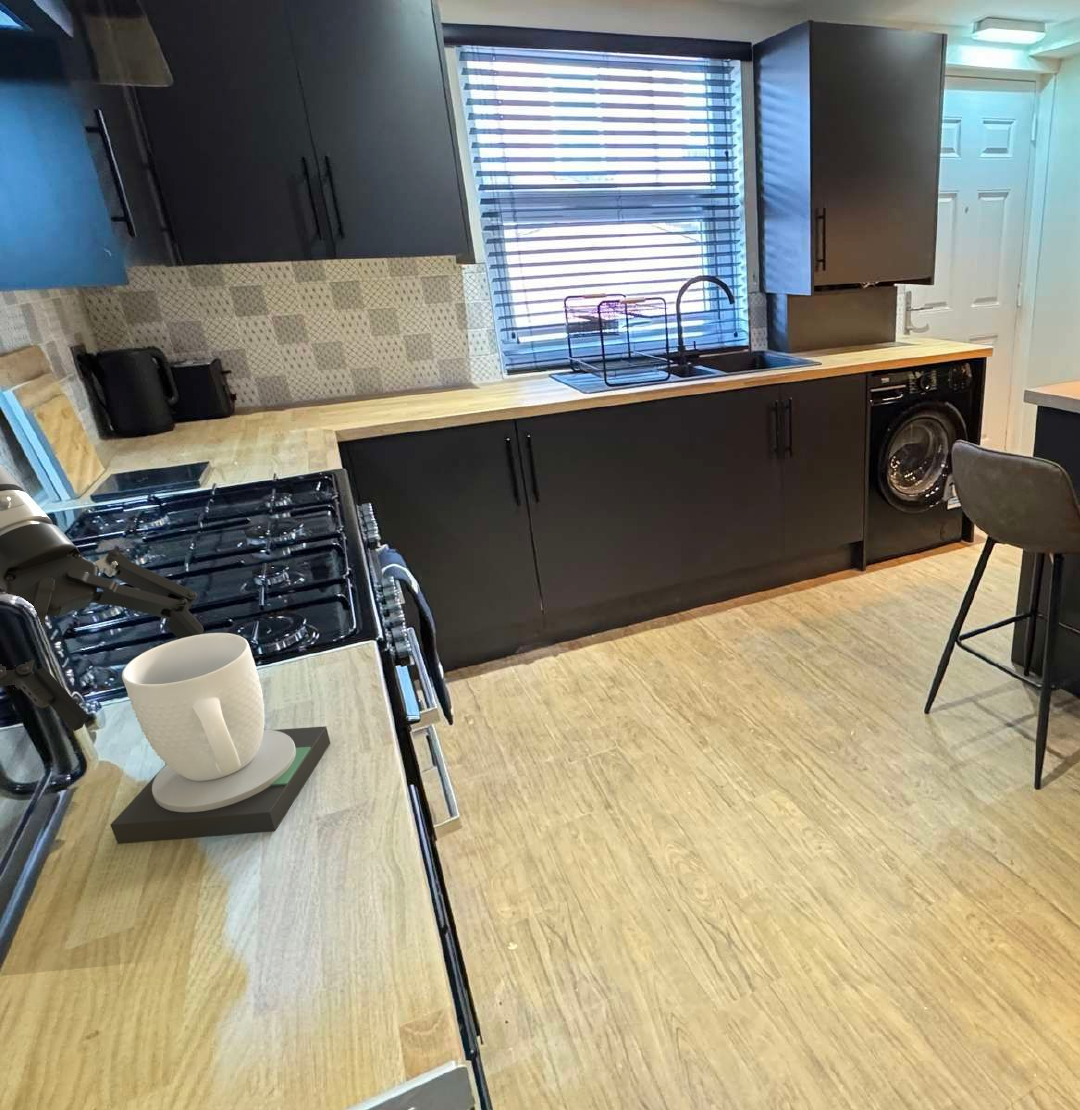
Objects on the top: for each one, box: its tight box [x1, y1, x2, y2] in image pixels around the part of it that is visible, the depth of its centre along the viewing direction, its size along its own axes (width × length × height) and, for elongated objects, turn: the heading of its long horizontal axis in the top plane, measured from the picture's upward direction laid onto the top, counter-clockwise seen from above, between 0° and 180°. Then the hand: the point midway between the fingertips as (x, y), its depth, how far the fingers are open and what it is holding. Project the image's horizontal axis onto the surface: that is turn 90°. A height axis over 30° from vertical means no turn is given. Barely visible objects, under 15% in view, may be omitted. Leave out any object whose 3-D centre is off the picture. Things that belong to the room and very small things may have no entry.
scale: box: [110, 725, 331, 845], centre depth 85 cm, size 15×15×3 cm
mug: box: [121, 632, 266, 781], centre depth 81 cm, size 15×11×13 cm
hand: (150, 689), depth 84 cm, fingers open, 13 cm apart
